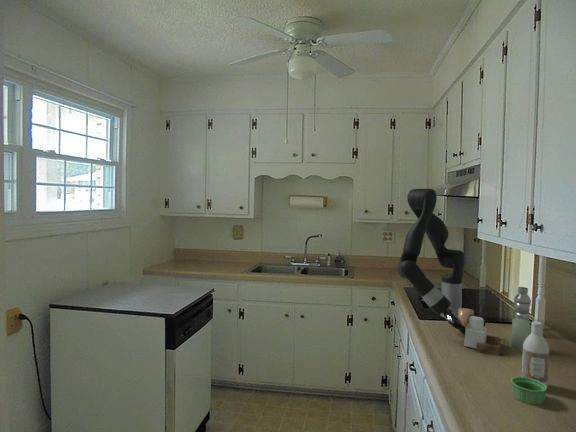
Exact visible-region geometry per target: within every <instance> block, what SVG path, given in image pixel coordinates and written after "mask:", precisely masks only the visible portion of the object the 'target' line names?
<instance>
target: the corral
mask: <svg viewBox="0 0 576 432" xmlns="http://www.w3.org/2000/svg"><path fill="white" fill-rule="evenodd" d="M503 349H504V347H503V345H502V343H501V340H500V337H499V335H498V336H497V335H492V334H487V337H486V344H480V343H477V349H476V352H477V353H482V354H483V353H484V354H490V355H496V356H501V357H502V356H503V354H504V353H503V352H504V351H503Z"/></svg>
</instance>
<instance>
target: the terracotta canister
mask: <svg viewBox="0 0 576 432" xmlns="http://www.w3.org/2000/svg"><path fill="white" fill-rule="evenodd" d="M474 313H475V310H474V309H471V308H465V307H461V308H459V309H458V317H459V319H460V320H461V322H462V323H463V325H464V327H465V328H466V327H467V325H468V321H469V316H470V315H475V314H474ZM456 334H457V336H458V337H461V338H464V334H463V333H462V332H461V331H460V330H459V329H457V333H456Z"/></svg>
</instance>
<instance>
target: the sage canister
mask: <svg viewBox="0 0 576 432" xmlns="http://www.w3.org/2000/svg"><path fill="white" fill-rule="evenodd" d="M530 331H531V321H530V320H529V321H528V320H526V319H521V318H515V317H513V318H512V319H511V337H510V338H511V339H510V347H511V348H512V349H513V350H516V351H521V352H523V344H524V341H525V339H526V338H527V337H528V336H529V335H530V334H531V332H530Z"/></svg>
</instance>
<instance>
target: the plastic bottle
mask: <svg viewBox="0 0 576 432" xmlns="http://www.w3.org/2000/svg"><path fill="white" fill-rule="evenodd" d="M528 290H529V288H528V287H524V286H519V287H518V289H517V292H518V293H517V294H516V295H515V297H514V298H513V301H514V318H521V319H526V320H528V321H530V309H531V305H532V304H531V303H532V300H531V299H532V298H531V297H530V296H529V294H528V292H529V291H528Z"/></svg>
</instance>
